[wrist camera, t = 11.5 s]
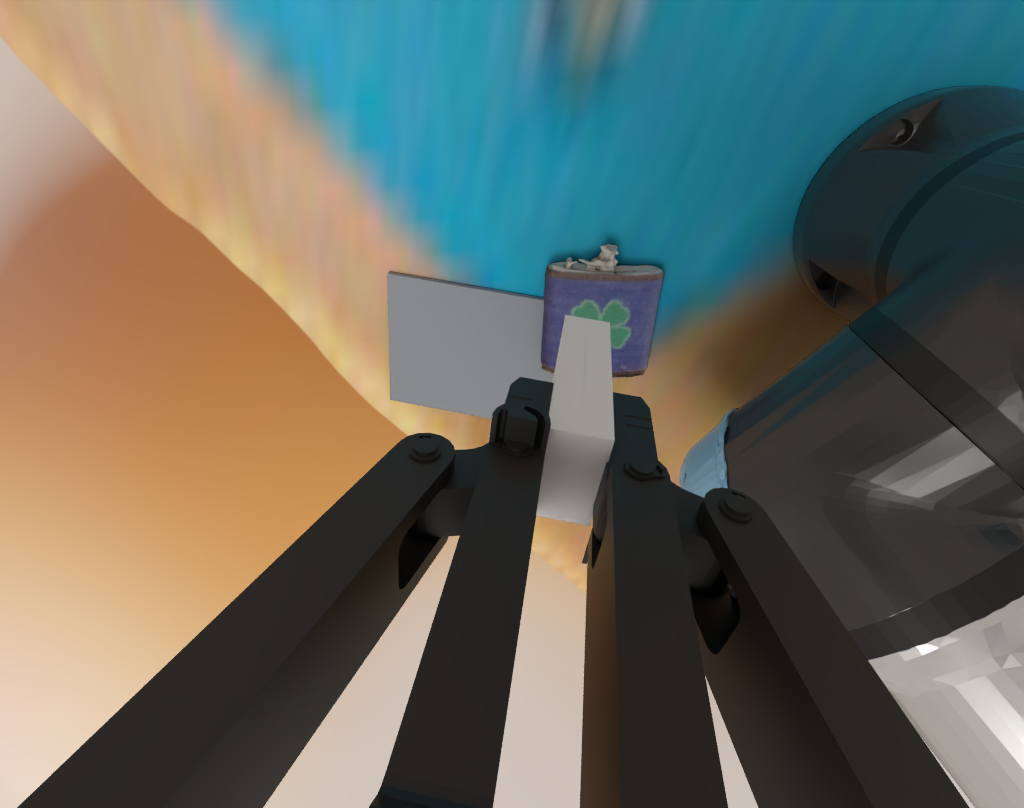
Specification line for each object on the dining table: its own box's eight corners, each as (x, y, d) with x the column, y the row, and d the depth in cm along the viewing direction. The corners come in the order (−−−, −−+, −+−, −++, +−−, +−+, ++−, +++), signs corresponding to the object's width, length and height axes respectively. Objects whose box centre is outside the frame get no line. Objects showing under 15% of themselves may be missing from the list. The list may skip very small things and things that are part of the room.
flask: (643, 363, 43) (665, 241, 37) (649, 380, 41) (674, 251, 35) (540, 360, 44) (545, 238, 38) (539, 376, 41) (545, 248, 35)
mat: (572, 302, 41) (572, 305, 41) (548, 425, 48) (547, 429, 48) (389, 271, 42) (387, 273, 42) (392, 396, 49) (390, 399, 49)
